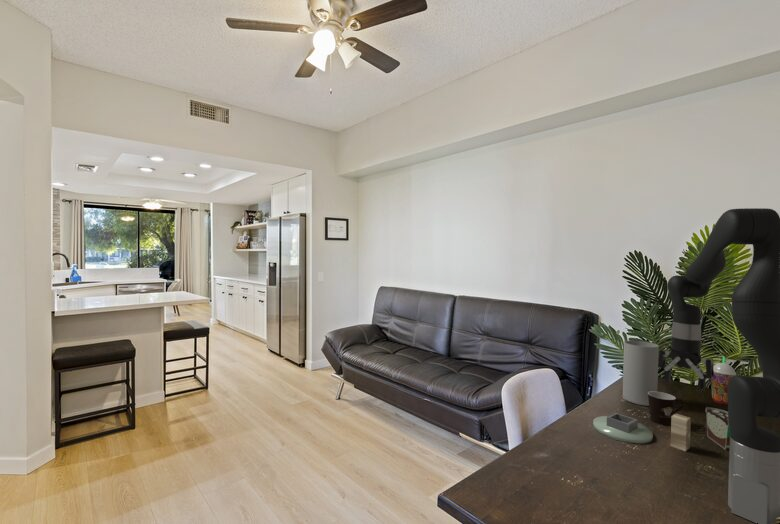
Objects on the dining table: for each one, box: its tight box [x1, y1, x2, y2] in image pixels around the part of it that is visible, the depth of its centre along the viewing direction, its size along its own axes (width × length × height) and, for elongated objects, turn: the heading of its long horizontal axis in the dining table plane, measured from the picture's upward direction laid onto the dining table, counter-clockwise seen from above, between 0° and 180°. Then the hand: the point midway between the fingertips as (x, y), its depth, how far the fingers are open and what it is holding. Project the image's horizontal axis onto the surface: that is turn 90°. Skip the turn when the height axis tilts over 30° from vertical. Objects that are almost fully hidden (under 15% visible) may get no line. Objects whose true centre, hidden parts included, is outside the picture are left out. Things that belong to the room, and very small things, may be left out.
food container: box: [705, 406, 730, 451], centre depth 125 cm, size 12×6×10 cm, turn 168°
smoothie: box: [710, 356, 737, 406], centre depth 162 cm, size 8×8×20 cm
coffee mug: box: [648, 391, 684, 426], centre depth 141 cm, size 12×9×10 cm
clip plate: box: [592, 412, 654, 445], centre depth 133 cm, size 18×18×4 cm
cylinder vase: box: [622, 340, 660, 407], centre depth 162 cm, size 12×12×25 cm
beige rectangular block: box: [670, 413, 692, 452], centre depth 122 cm, size 4×4×10 cm
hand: (684, 385), depth 122 cm, fingers open, 8 cm apart
